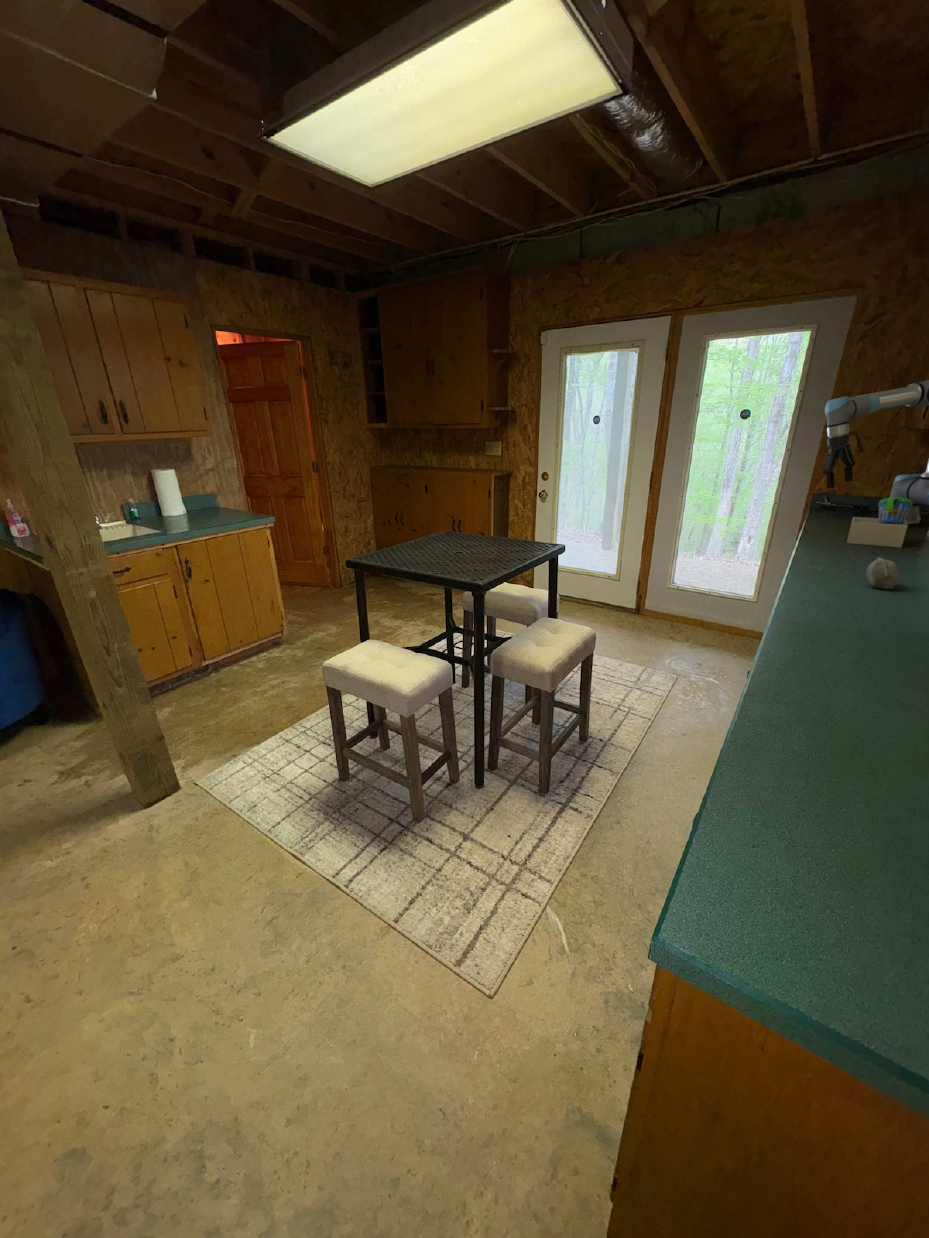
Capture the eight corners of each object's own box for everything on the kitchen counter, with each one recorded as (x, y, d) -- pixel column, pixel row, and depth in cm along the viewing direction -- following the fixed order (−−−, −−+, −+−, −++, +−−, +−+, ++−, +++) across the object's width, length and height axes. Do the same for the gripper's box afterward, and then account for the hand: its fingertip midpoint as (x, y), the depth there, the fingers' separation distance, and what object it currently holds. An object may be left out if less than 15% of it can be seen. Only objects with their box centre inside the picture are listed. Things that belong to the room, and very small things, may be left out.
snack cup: (880, 533, 205) (885, 511, 205) (912, 532, 196) (918, 508, 196) (867, 519, 196) (872, 496, 197) (900, 517, 188) (906, 493, 188)
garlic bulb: (879, 598, 149) (885, 571, 143) (853, 586, 156) (858, 560, 150) (905, 586, 149) (912, 559, 144) (878, 574, 156) (884, 548, 151)
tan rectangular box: (847, 537, 214) (853, 517, 211) (900, 541, 204) (906, 520, 200) (846, 543, 204) (852, 521, 201) (901, 547, 194) (907, 525, 191)
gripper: (845, 432, 218) (846, 479, 223) (811, 442, 209) (813, 491, 214) (864, 428, 211) (865, 477, 216) (830, 439, 202) (832, 490, 207)
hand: (839, 484), depth 215 cm, fingers open, 13 cm apart
